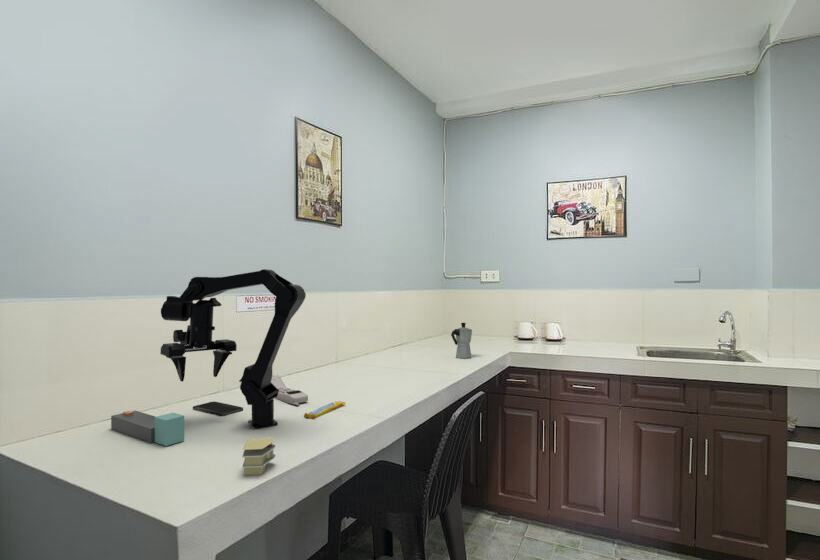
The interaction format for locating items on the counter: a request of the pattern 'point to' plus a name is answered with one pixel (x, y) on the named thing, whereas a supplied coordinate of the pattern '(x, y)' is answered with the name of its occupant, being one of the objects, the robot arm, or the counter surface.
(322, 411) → the candy bar
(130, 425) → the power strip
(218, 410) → the phone
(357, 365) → the counter surface
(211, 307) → the robot arm
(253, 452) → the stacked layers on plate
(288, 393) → the mobile phone
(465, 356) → the coffee maker
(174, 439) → the block
